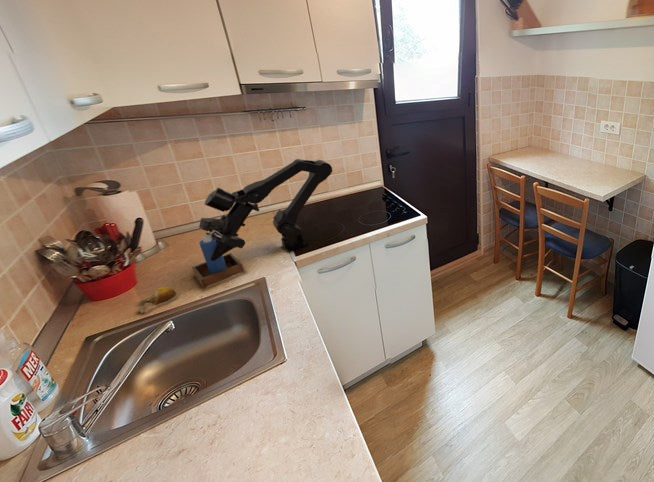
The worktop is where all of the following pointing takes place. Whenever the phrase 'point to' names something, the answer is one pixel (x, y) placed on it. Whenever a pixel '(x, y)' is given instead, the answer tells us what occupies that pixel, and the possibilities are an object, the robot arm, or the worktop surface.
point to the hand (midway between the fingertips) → (208, 258)
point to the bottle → (208, 249)
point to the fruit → (159, 297)
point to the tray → (208, 279)
